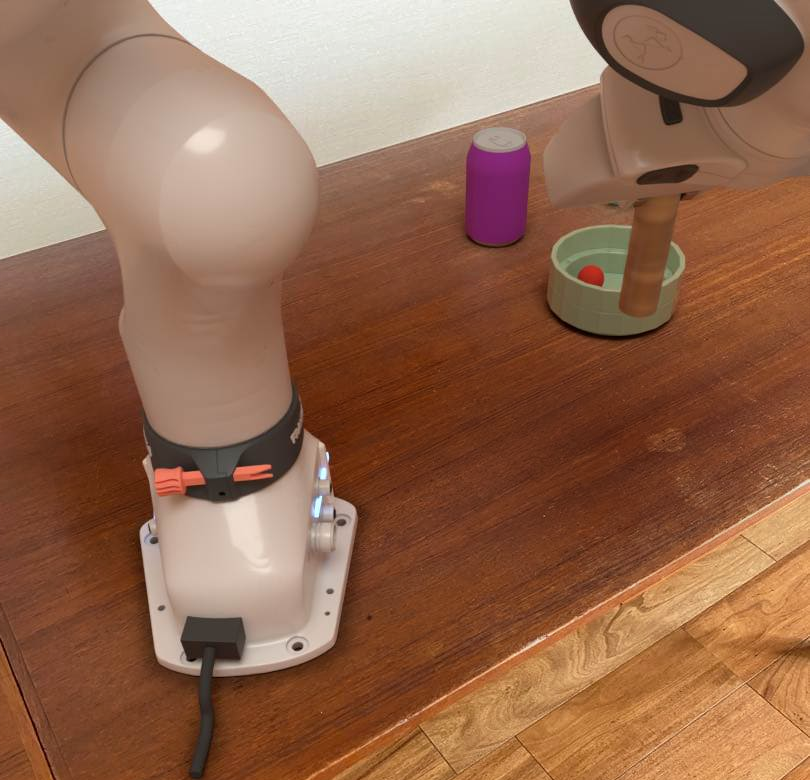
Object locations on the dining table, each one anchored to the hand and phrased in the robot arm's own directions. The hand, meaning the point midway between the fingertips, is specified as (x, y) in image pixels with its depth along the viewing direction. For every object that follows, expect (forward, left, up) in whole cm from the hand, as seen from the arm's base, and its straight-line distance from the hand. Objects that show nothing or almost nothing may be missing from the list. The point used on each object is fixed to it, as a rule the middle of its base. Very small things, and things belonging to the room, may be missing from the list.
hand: (654, 193), depth 63 cm
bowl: (+24, -7, -25) cm, 36 cm away
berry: (+26, -5, -23) cm, 35 cm away
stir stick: (-1, 0, -9) cm, 9 cm away
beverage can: (+42, +3, -25) cm, 49 cm away
